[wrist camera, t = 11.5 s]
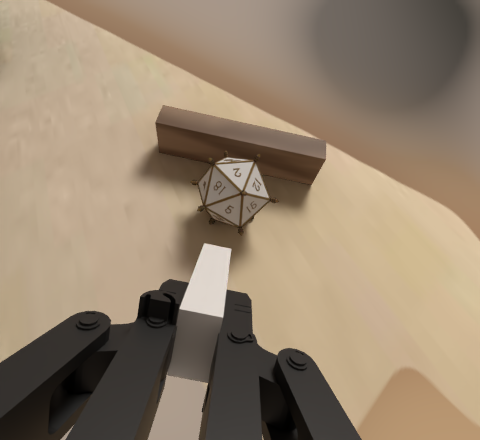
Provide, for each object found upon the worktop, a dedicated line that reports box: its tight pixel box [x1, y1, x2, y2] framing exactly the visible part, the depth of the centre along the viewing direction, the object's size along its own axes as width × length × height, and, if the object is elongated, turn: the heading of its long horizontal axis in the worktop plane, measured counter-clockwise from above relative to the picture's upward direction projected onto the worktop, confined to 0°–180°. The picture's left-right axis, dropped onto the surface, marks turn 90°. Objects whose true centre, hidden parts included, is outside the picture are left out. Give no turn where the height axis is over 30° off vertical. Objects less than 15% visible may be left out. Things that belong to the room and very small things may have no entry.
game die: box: [191, 151, 279, 236], centre depth 33 cm, size 9×8×10 cm
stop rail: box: [156, 105, 326, 185], centre depth 38 cm, size 3×20×5 cm, turn 81°
